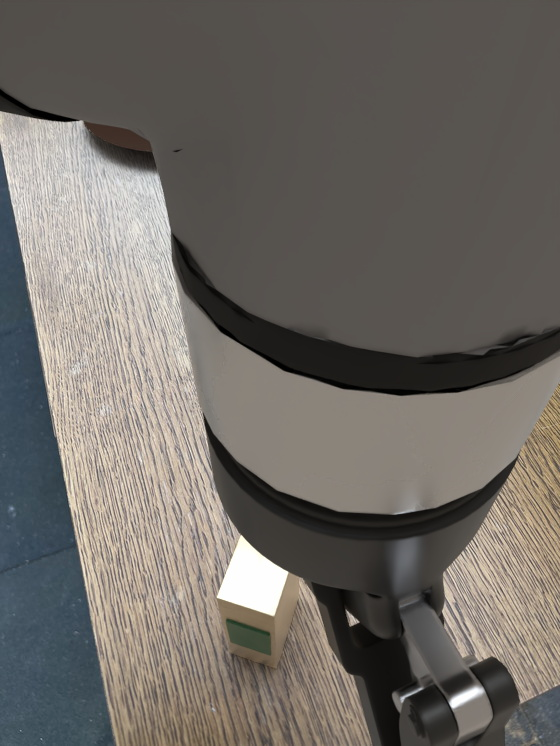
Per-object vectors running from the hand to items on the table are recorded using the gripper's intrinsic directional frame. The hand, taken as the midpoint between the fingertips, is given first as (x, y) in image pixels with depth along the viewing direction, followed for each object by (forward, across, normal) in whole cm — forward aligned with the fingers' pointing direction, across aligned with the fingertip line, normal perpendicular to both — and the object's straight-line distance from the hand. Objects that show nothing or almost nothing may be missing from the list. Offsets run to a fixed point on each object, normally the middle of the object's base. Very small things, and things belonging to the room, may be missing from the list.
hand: (321, 642), depth 32 cm
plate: (+22, +84, -15) cm, 88 cm away
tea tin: (+22, +8, 0) cm, 23 cm away
